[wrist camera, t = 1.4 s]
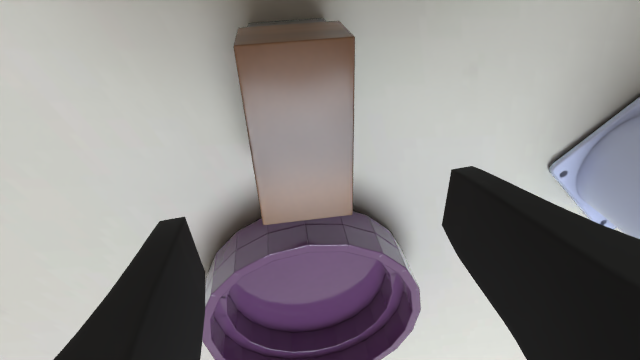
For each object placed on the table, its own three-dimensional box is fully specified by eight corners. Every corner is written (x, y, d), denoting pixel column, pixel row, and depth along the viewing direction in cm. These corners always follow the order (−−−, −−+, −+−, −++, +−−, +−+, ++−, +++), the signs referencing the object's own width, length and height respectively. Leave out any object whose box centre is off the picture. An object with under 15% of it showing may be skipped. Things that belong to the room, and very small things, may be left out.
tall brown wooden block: (240, 16, 17) (233, 45, 12) (330, 10, 17) (355, 36, 13) (262, 164, 21) (262, 225, 17) (333, 157, 22) (352, 215, 17)
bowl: (437, 261, 28) (461, 304, 25) (314, 354, 33) (320, 401, 29) (298, 162, 22) (305, 202, 18) (168, 297, 26) (156, 348, 23)
